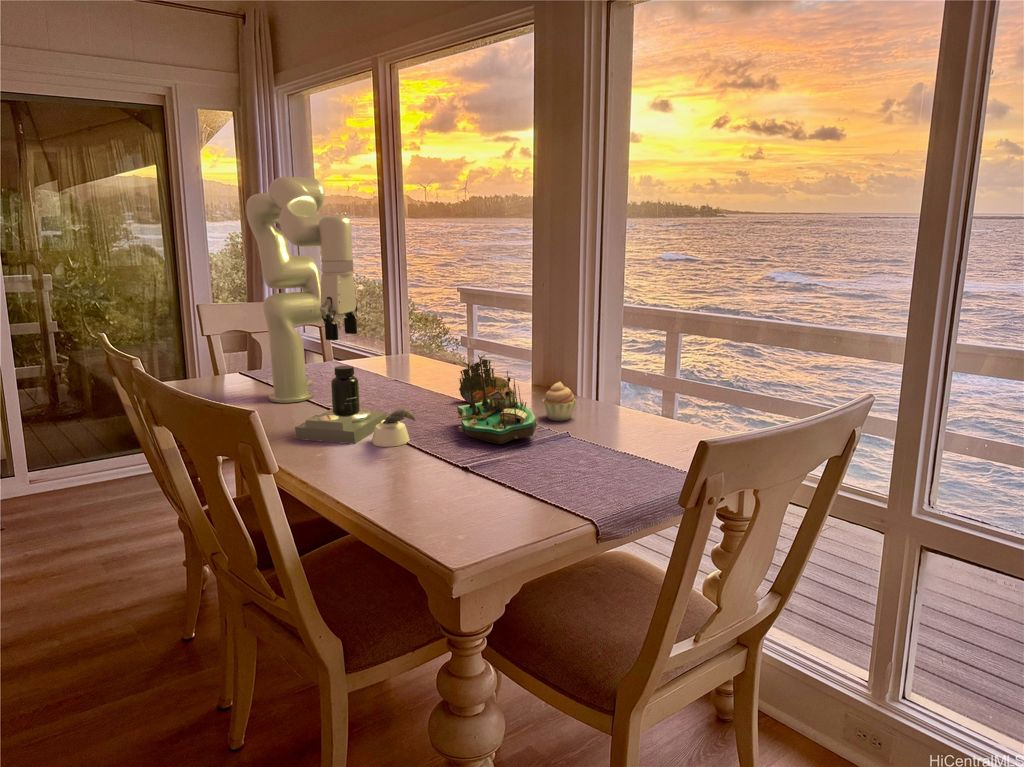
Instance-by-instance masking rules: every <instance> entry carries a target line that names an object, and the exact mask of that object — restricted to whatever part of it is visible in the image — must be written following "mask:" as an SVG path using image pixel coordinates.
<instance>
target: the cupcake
mask: <svg viewBox="0 0 1024 767" xmlns="http://www.w3.org/2000/svg"><path fill="white" fill-rule="evenodd" d="M541 401H542V403H543V405H544V408H545V412H546V413H545V414H546V417H547V419H549V420H551V421H555V422H556V421H557V422H558V421H559V422H563V421H568V420H570V419H571V418H572V415H573V410H574V408H575V406H576V405H577V402H578V401H577V400H576V398H575V395H574V393H573V392H572V390H571V389H570V388H569V387H567V386H565V385H564V384H563V383H562V381H557V382H556V383H554V384H553V385H552V386H551V387H550V388H549V390H548V391H547V392H546V393H545V398H544V399H542V400H541Z"/></svg>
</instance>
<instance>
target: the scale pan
mask: <svg viewBox="0 0 1024 767" xmlns="http://www.w3.org/2000/svg"><path fill="white" fill-rule="evenodd" d="M331 409H332V410H330V409H329V411H328V410H327V411H325V413H324V412H323V415H324V416H326V415H335V414H334V413H333V408H331ZM336 416H338V417H352V423H353V422H359V421H363V420H366V419H368V418H370V416H371V410H370V409H368V408H365V407H361V406H360V411H359V413H357V414H355V415H349V416H339V415H336Z"/></svg>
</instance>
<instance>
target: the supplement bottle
mask: <svg viewBox="0 0 1024 767" xmlns="http://www.w3.org/2000/svg"><path fill="white" fill-rule="evenodd" d="M333 373H334V376H335V377H333V378H332V379H331V381H330V385H331V406H332V408H331V409H333V413H334V414H335V415H339V416H349V415H355V414H357V413H359V411H360V407H361V406H360V385H359V379H358V378H357V377H356V376H354V375H355V368H354V366H352V365H339V366H335V367H334V372H333Z"/></svg>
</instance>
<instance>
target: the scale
mask: <svg viewBox="0 0 1024 767" xmlns="http://www.w3.org/2000/svg"><path fill="white" fill-rule="evenodd" d="M332 409H333V408H330V409H329V410H332ZM329 410H327V411H329ZM370 411H371V410H370ZM325 412H326V411H325ZM325 412H323V413H325ZM323 413H321V414H315V415H313V416H311V417H309V418H307V419H305V421H304V422H303V423H300V424H298V425H297V426H295V427H294V430H295V431H294V432H295V439H296V440H303V439H308V440H307V441H315V440H322V441H321V442H327V441H333V442H332V443H340V442H342V443H341V444H354V445H355V444H358V443H359V442H360V441H362V440H363V439H365V438H366V437H368V436H369V435H372V434H374V429H375V426H376V425H377V424H379V423H381V421H382V420H385V419H386V418H387V417H388V414H387V411H385V412H384V411H371V416H370V418H368V419H366V420H363V421H359V422H353V423H352V417H338V416H336V415H326V416H324V415H323Z"/></svg>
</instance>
